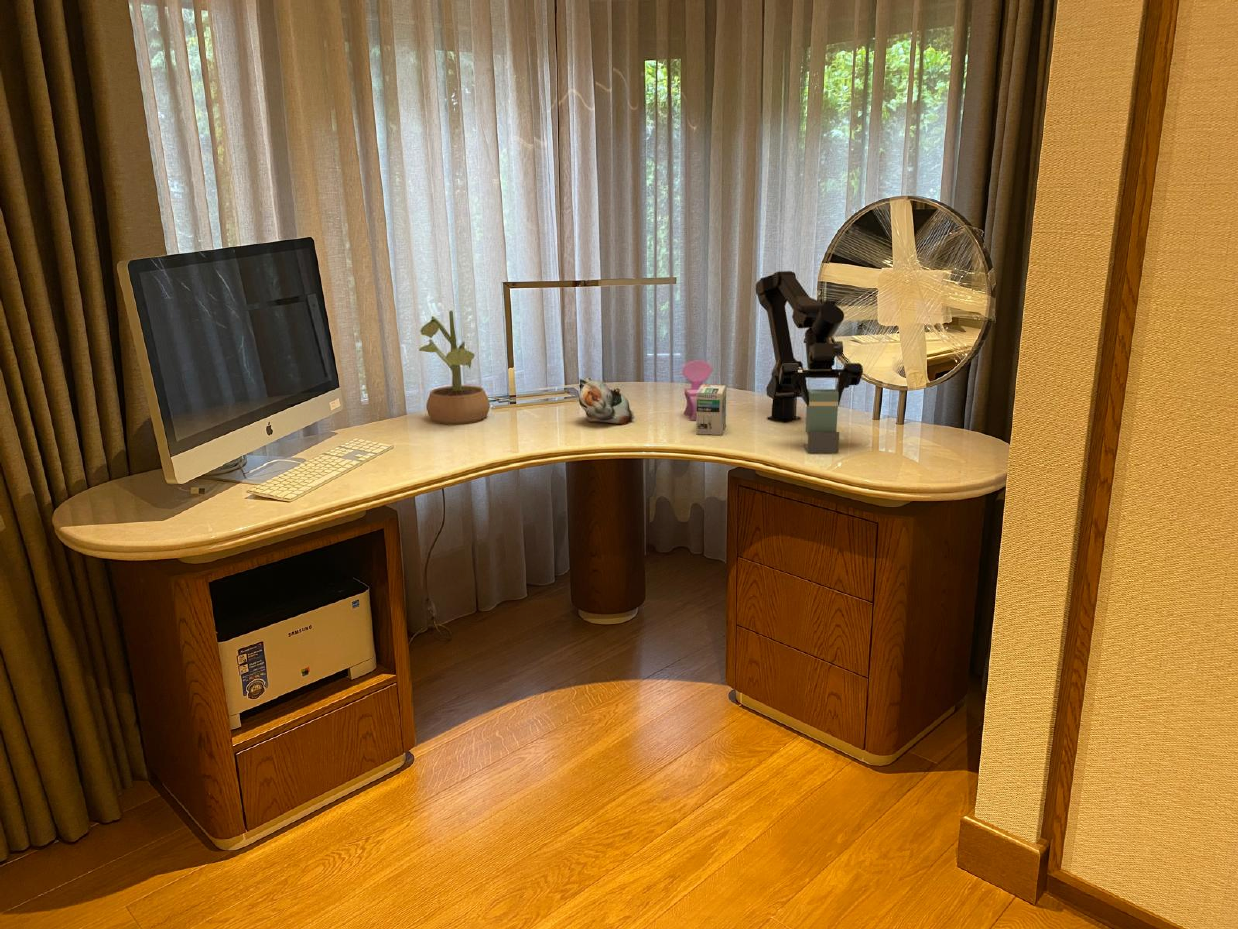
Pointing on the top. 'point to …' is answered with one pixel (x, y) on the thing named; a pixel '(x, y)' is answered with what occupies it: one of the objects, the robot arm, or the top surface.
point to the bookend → (822, 442)
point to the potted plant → (454, 382)
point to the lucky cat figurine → (603, 403)
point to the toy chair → (695, 383)
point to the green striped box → (822, 410)
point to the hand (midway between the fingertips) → (823, 404)
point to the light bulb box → (711, 410)
